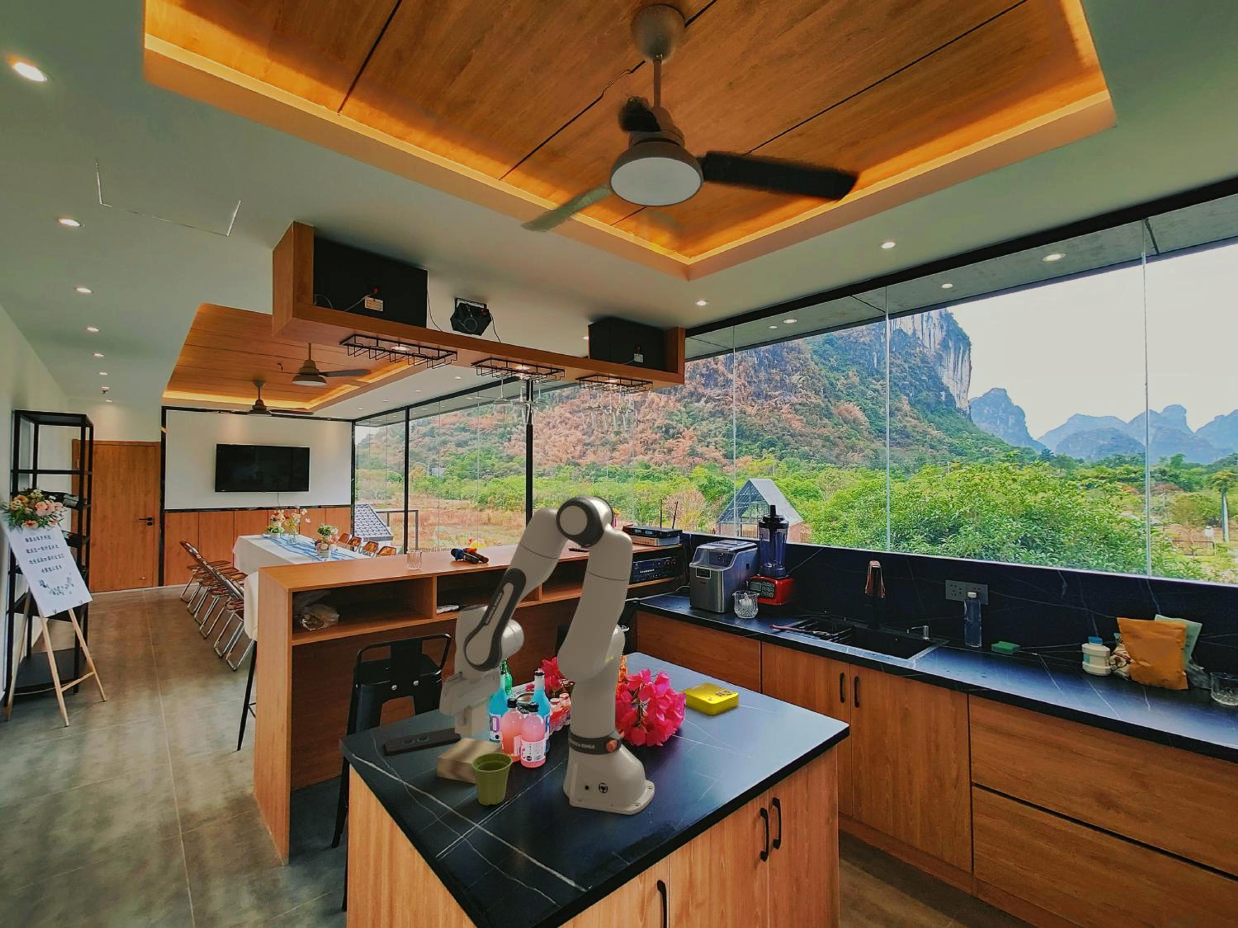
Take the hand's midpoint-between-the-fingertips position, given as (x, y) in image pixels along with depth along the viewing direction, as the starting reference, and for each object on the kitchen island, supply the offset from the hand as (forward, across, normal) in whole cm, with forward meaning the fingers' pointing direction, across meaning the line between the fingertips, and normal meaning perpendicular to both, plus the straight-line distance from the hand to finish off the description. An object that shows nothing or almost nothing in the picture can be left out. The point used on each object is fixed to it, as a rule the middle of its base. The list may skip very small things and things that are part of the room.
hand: (470, 720), depth 146 cm
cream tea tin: (+3, 0, 0) cm, 3 cm away
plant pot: (+12, -9, -14) cm, 21 cm away
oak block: (+13, 0, 0) cm, 13 cm away
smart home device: (+13, +6, +22) cm, 26 cm away
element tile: (+13, +70, -44) cm, 84 cm away
